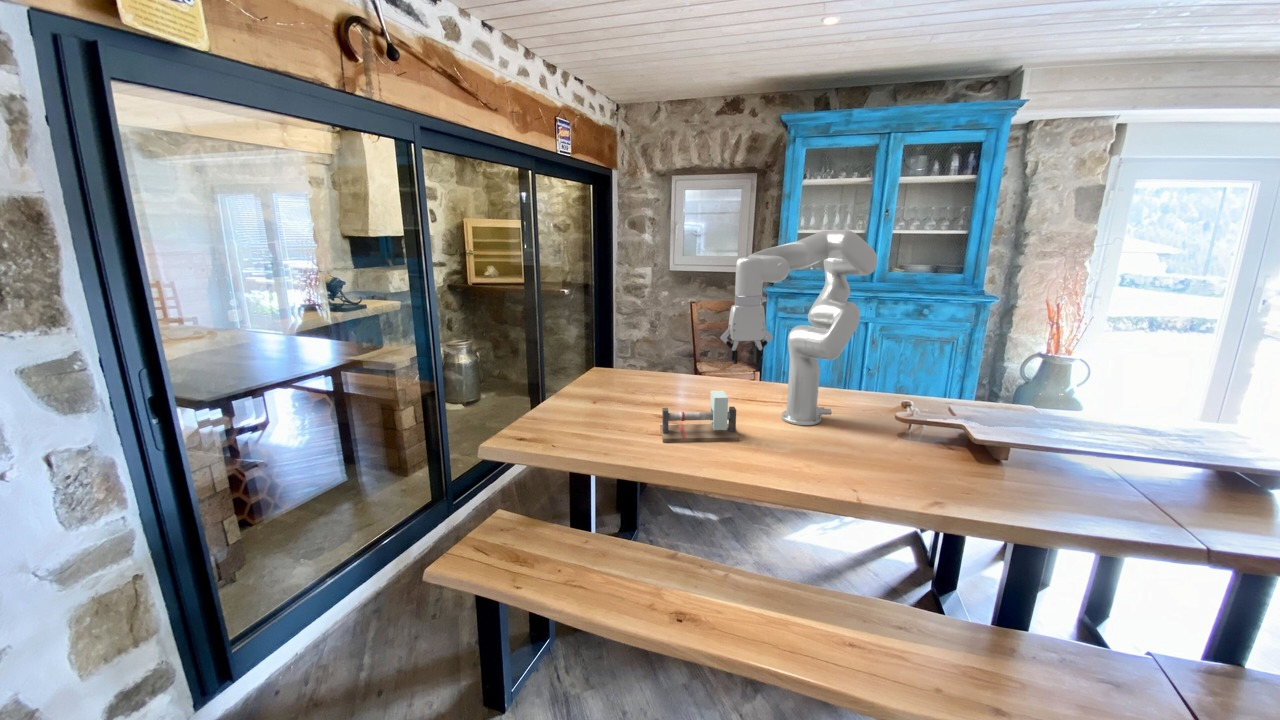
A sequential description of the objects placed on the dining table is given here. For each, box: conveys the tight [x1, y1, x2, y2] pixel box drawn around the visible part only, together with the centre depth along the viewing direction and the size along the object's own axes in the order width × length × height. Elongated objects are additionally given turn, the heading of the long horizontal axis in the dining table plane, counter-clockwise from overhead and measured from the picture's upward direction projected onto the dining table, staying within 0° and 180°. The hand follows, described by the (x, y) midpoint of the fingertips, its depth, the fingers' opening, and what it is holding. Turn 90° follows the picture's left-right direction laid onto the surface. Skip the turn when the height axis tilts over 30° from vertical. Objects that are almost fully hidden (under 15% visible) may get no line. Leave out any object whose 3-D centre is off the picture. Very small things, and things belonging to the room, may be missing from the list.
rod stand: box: [659, 406, 741, 443], centre depth 154 cm, size 23×11×8 cm, turn 92°
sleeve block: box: [709, 390, 729, 430], centre depth 153 cm, size 4×7×10 cm, turn 2°
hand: (745, 362), depth 147 cm, fingers open, 5 cm apart
